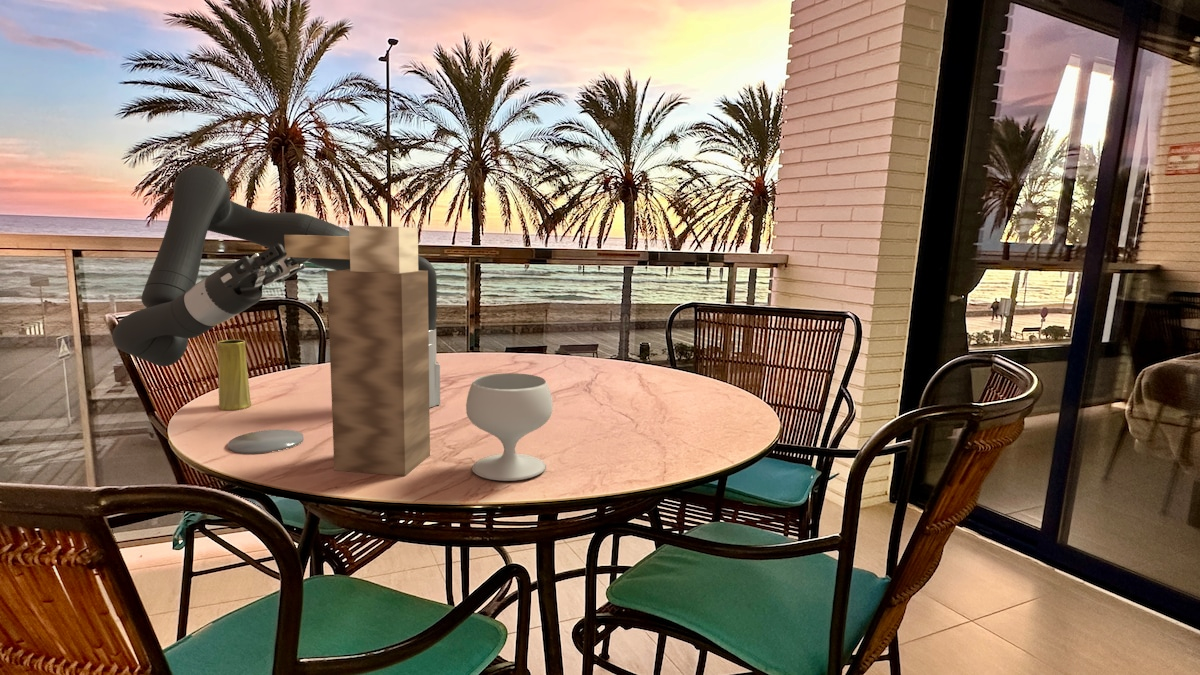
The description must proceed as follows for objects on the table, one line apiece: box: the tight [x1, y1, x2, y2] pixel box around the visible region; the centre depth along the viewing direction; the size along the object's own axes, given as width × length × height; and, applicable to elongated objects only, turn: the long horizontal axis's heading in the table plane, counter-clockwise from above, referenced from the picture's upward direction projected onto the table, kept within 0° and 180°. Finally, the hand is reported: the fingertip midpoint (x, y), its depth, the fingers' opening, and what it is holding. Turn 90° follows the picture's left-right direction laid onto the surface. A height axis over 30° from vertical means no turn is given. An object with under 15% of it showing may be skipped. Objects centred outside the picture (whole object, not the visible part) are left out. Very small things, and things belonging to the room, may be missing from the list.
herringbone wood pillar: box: [326, 269, 431, 477], centre depth 104 cm, size 12×10×32 cm
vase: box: [216, 339, 252, 411], centre depth 136 cm, size 6×6×14 cm
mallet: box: [284, 225, 419, 273], centre depth 102 cm, size 20×7×7 cm, turn 82°
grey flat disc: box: [227, 428, 304, 455], centre depth 115 cm, size 12×12×1 cm
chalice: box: [465, 372, 554, 482], centre depth 104 cm, size 14×14×15 cm
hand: (299, 248), depth 103 cm, fingers open, 8 cm apart
